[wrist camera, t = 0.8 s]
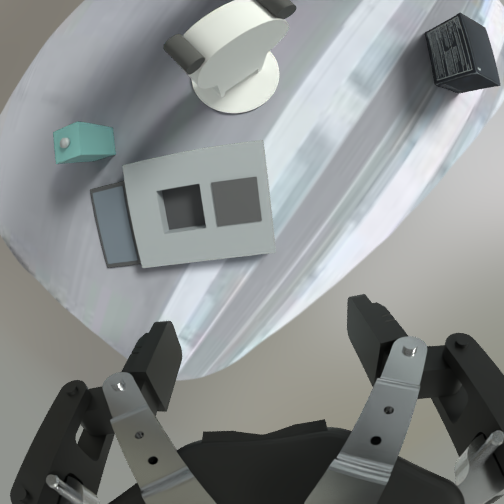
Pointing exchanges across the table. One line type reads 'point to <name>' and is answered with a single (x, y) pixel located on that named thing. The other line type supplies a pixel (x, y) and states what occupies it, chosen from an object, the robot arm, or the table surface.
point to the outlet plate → (201, 205)
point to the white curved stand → (234, 53)
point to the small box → (462, 55)
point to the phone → (115, 225)
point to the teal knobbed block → (83, 143)
